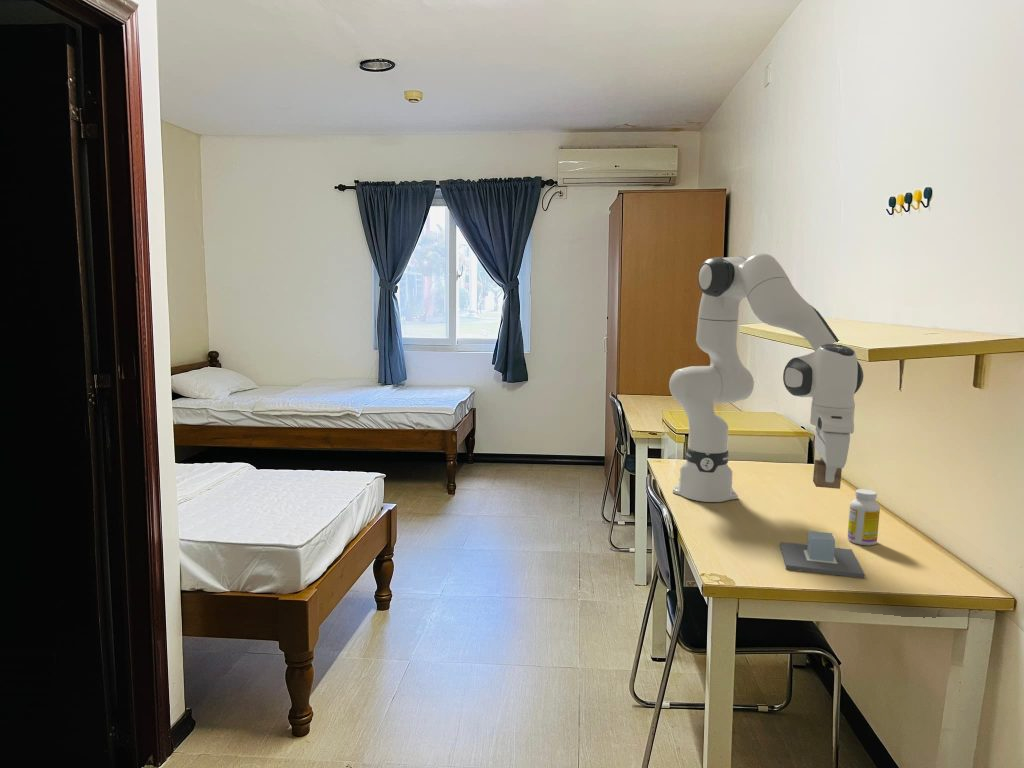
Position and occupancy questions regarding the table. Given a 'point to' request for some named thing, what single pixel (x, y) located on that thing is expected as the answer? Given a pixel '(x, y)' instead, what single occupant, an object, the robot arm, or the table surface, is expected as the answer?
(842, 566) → the dark grey flat slab
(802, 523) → the table surface
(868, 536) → the supplement bottle
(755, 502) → the table surface
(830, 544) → the blue block
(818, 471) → the walnut block
